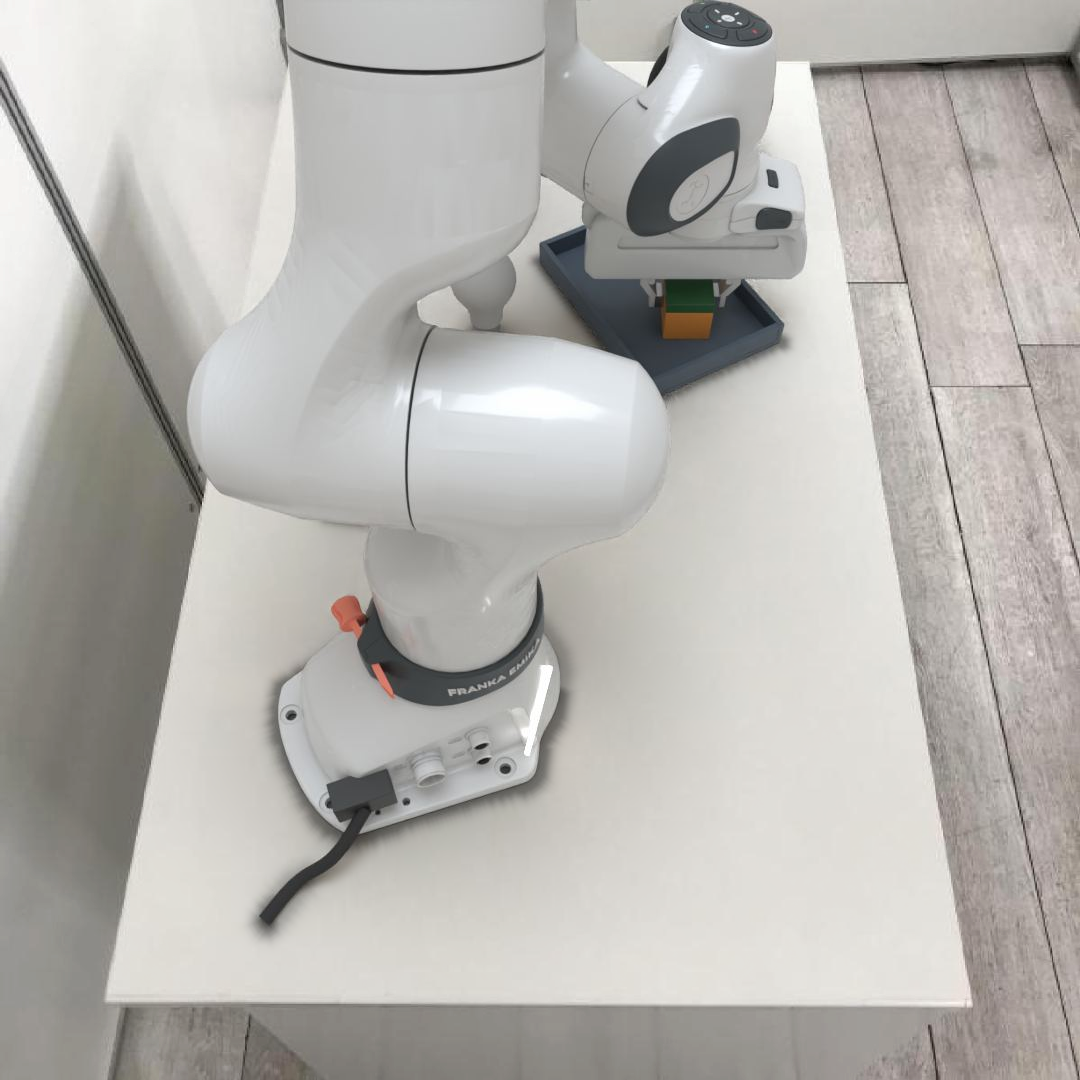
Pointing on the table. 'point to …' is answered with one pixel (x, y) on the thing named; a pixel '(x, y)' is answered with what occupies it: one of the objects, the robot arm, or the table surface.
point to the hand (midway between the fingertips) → (686, 302)
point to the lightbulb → (487, 295)
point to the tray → (657, 319)
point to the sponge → (687, 308)
